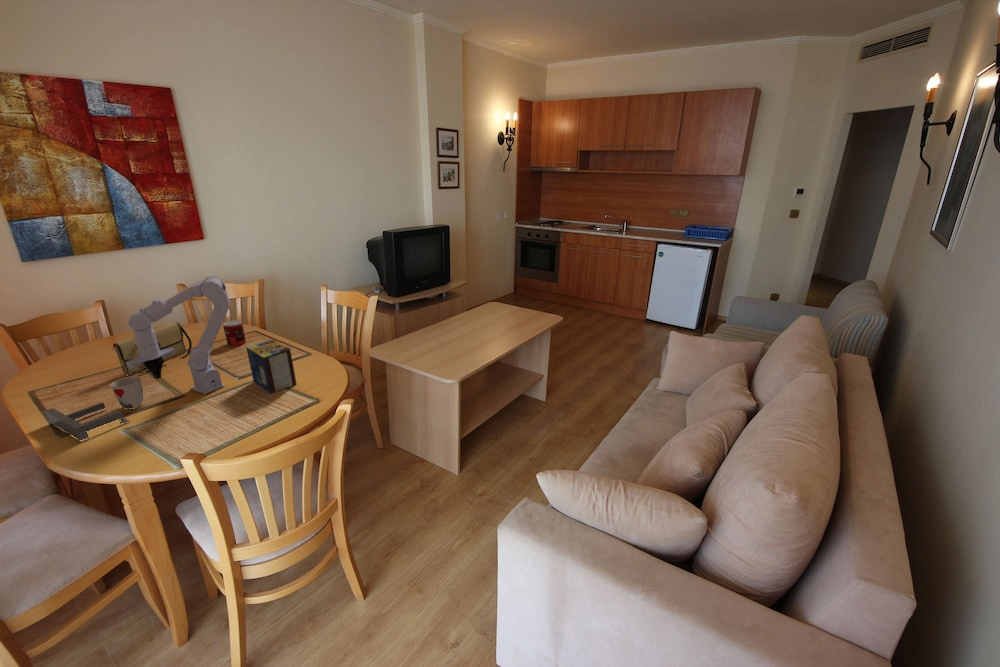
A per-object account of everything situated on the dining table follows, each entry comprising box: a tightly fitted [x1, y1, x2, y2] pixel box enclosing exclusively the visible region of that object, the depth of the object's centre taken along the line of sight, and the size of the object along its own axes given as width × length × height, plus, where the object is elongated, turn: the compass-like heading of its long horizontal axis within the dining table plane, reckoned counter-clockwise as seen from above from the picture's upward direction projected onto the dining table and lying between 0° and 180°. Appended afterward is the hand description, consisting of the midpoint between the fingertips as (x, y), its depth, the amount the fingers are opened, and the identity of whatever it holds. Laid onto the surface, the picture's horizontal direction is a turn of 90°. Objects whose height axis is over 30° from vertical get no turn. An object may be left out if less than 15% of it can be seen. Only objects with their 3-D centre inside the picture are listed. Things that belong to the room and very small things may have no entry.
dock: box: [44, 402, 130, 440], centre depth 144 cm, size 22×13×5 cm, turn 63°
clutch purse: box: [111, 322, 193, 376], centre depth 185 cm, size 30×7×15 cm, turn 165°
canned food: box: [222, 319, 247, 347], centre depth 208 cm, size 8×8×11 cm
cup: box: [110, 376, 144, 409], centre depth 153 cm, size 8×8×10 cm
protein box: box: [246, 339, 297, 394], centre depth 170 cm, size 10×15×16 cm
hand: (157, 377), depth 160 cm, fingers closed
